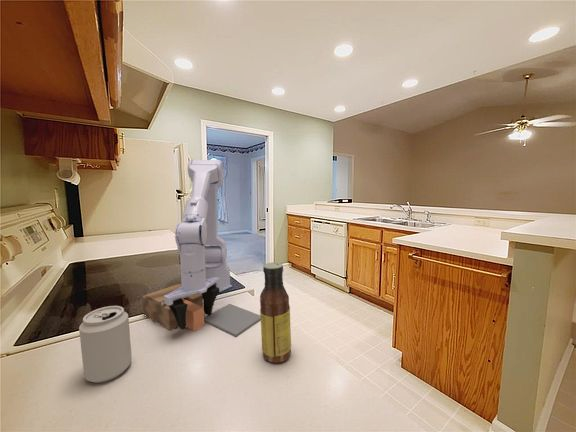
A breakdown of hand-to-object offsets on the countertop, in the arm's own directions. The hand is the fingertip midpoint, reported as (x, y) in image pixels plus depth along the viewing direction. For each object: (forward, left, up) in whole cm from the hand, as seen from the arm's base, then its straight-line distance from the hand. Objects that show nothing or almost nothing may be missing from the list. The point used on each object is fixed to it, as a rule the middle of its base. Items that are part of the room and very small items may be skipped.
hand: (195, 320), depth 63 cm
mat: (-8, +5, -2) cm, 9 cm away
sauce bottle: (-3, +23, -2) cm, 24 cm away
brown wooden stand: (0, -10, -2) cm, 10 cm away
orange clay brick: (0, -4, -2) cm, 4 cm away
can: (+19, -1, -2) cm, 19 cm away
